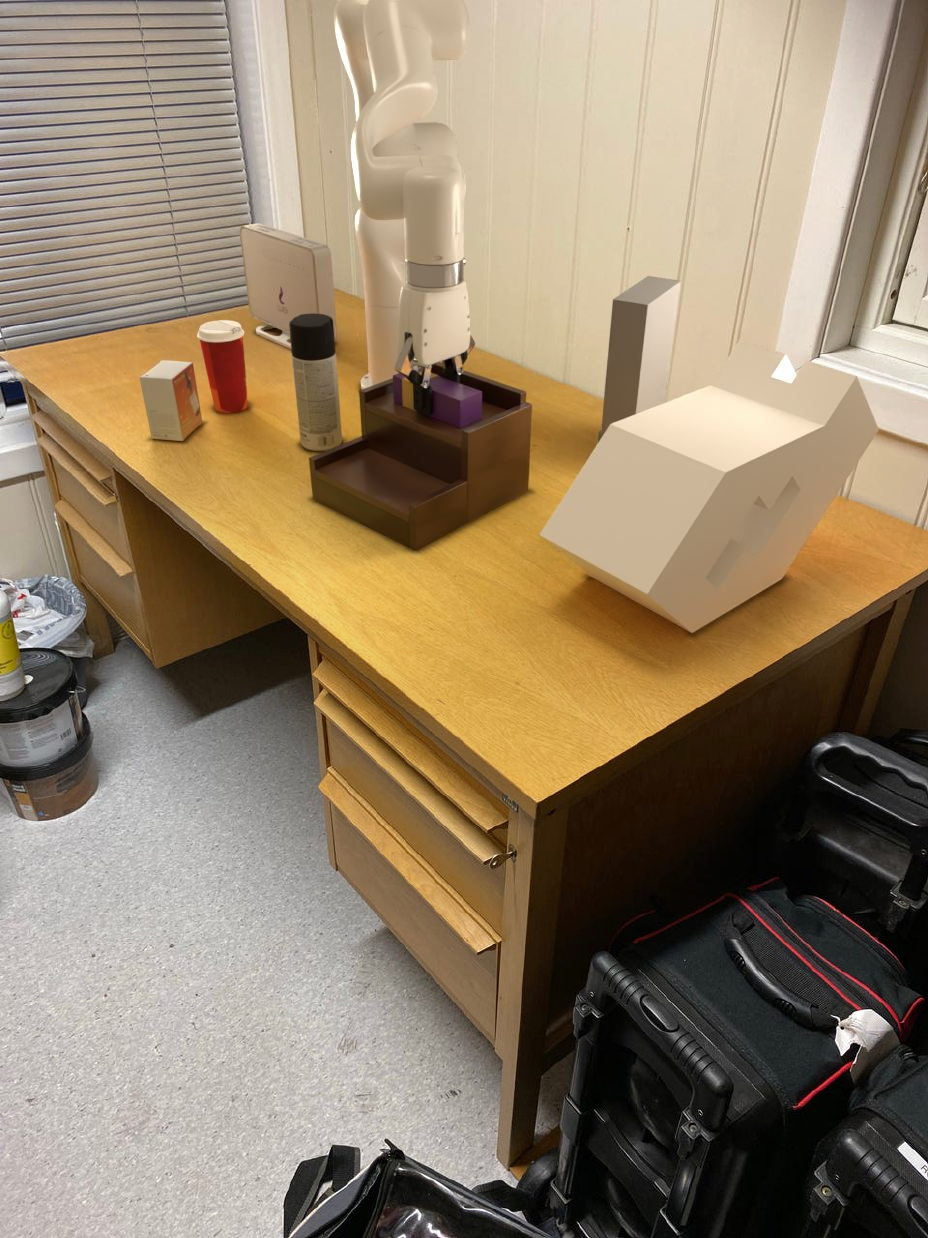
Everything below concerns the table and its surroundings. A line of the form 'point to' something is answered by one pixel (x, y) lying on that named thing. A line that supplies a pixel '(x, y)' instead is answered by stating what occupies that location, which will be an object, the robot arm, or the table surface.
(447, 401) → the purple banded block
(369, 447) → the step rack
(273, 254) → the network device
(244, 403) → the paper cup
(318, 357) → the spray can
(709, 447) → the cream angular block
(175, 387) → the small box
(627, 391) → the cassette tape recorder
